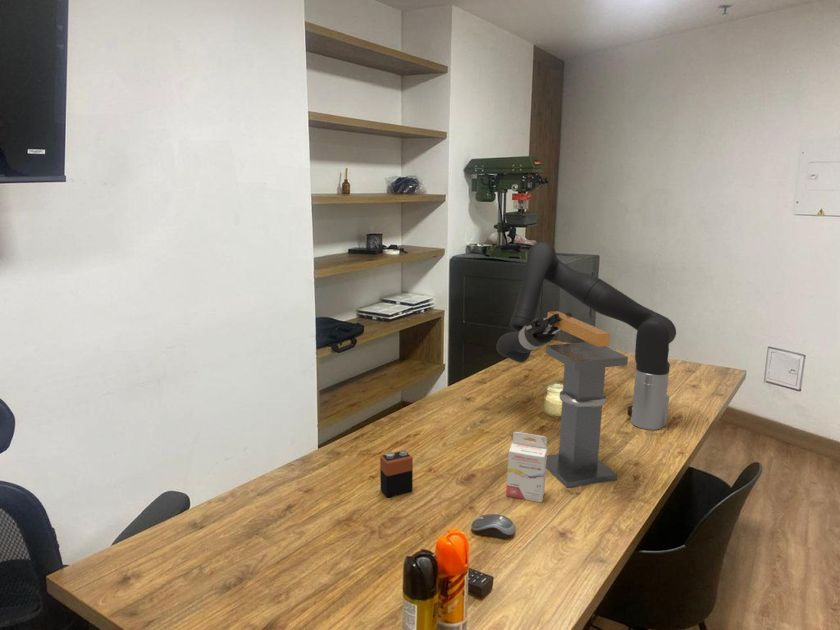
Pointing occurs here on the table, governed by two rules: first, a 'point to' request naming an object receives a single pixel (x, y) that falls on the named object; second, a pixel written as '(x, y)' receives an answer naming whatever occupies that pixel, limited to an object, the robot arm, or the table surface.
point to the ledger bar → (581, 330)
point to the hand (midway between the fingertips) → (564, 316)
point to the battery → (396, 473)
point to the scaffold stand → (582, 413)
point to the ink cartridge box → (527, 467)
